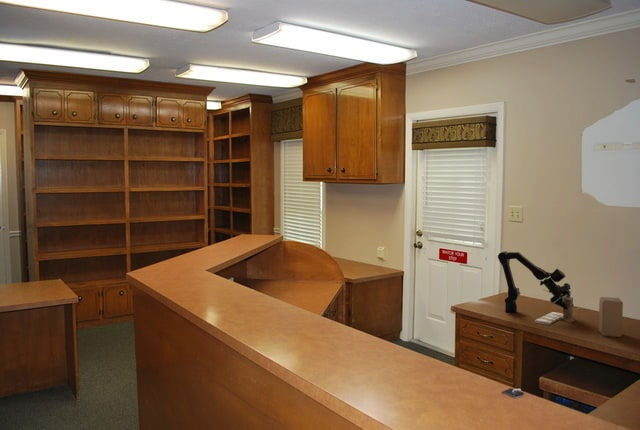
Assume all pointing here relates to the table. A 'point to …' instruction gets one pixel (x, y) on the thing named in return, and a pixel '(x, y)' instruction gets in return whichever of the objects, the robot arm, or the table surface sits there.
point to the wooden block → (610, 316)
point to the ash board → (549, 318)
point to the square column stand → (568, 310)
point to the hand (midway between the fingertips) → (570, 307)
